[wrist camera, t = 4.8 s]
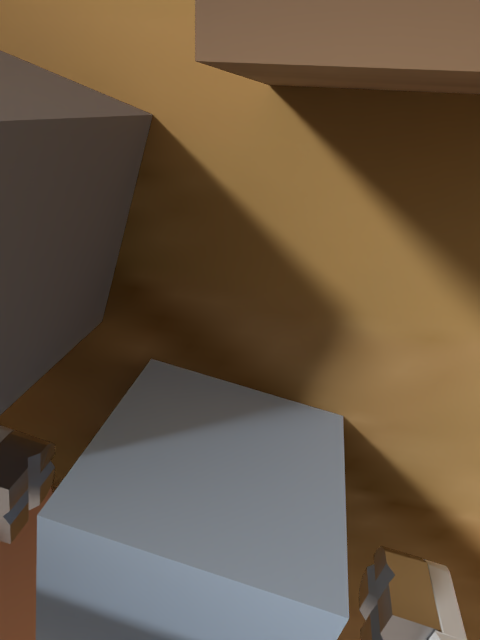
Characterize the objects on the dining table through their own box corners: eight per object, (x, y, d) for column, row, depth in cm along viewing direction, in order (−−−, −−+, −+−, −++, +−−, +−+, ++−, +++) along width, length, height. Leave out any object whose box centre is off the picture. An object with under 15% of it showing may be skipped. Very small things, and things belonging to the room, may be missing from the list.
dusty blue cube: (152, 357, 11) (37, 514, 7) (342, 413, 11) (349, 619, 7) (132, 491, 14) (35, 676, 9) (289, 542, 13) (267, 759, 9)
